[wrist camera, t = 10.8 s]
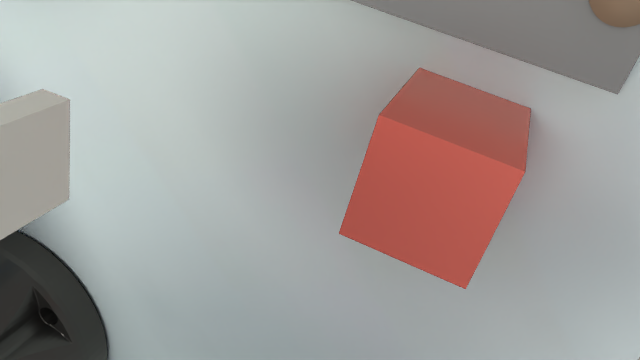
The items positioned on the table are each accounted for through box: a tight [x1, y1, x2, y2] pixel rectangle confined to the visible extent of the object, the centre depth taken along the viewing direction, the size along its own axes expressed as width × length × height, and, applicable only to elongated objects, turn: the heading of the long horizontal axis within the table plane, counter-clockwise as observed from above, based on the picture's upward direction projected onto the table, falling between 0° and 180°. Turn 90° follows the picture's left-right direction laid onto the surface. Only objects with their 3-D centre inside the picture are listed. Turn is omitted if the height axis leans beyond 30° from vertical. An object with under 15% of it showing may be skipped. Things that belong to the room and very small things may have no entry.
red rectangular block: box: [339, 68, 531, 289], centre depth 23 cm, size 5×5×7 cm
